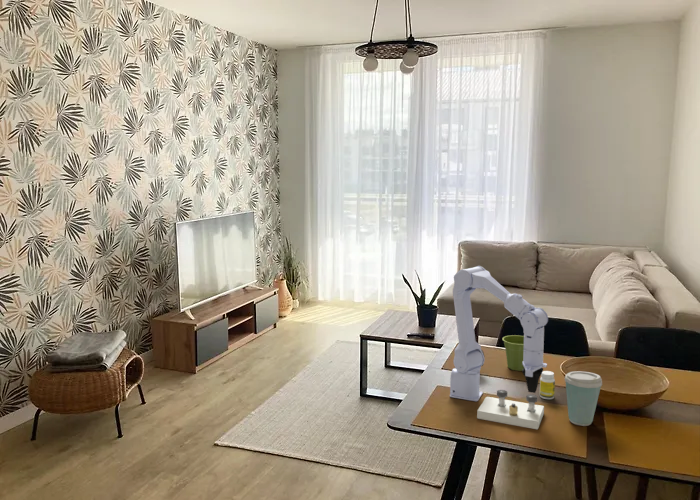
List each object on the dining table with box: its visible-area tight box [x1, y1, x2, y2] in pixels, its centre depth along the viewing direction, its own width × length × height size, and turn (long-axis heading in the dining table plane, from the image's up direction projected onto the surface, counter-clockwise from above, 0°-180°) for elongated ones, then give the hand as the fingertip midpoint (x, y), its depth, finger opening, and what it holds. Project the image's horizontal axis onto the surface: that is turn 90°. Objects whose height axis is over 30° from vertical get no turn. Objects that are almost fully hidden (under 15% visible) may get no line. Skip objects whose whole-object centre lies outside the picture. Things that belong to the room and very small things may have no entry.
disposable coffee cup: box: [564, 370, 603, 427], centre depth 173 cm, size 11×11×15 cm
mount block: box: [476, 396, 545, 430], centre depth 178 cm, size 18×12×2 cm, turn 63°
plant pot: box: [502, 334, 524, 372], centre depth 219 cm, size 12×12×11 cm
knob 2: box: [526, 394, 538, 411], centre depth 176 cm, size 3×3×4 cm
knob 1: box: [496, 389, 508, 406], centre depth 180 cm, size 3×3×4 cm
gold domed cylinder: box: [509, 404, 518, 416], centre depth 174 cm, size 2×2×3 cm
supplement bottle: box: [539, 370, 556, 400], centre depth 192 cm, size 5×5×8 cm
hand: (532, 391), depth 175 cm, fingers closed
